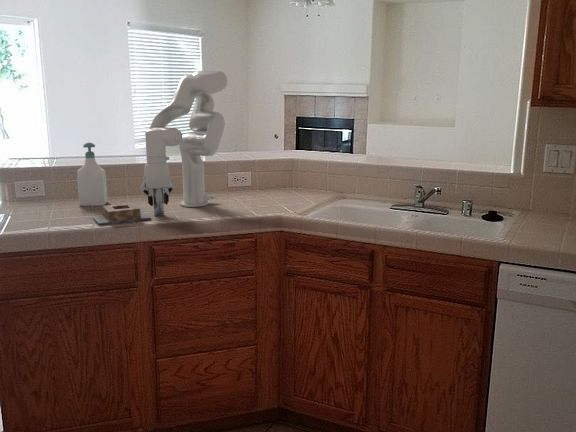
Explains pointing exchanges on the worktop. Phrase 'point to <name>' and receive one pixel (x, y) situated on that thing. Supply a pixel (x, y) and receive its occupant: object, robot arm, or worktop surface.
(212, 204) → the worktop surface
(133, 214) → the docking mount
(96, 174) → the soap bottle
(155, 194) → the grey metallic cylinder
